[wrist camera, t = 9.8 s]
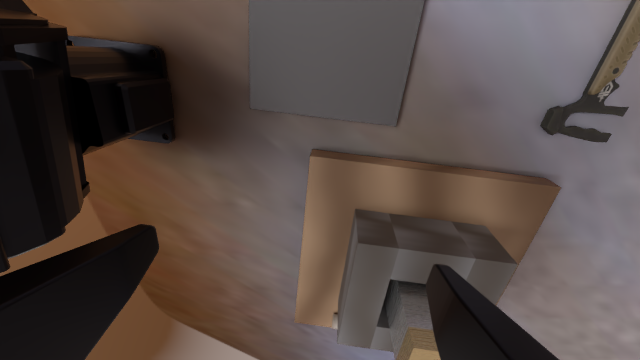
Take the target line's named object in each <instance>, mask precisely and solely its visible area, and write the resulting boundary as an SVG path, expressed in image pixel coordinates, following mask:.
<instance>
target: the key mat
mask: <svg viewBox="0 0 640 360" xmlns="http://www.w3.org/2000/svg"><path fill="white" fill-rule="evenodd" d="M424 1H425V0H249V72H250V109H256V110H264V111H273V112H281V113H289V114H297V115H306V116H314V117H322V118H330V119H338V120H347V121H355V122H363V123H371V124H380V125H388V126H396V123H397V119H398V114H399V110H400V106H401V101H402V97H403V93H404V88H405V84H406V79H407V75H408V71H409V66H410V62H411V58H412V53H413V49H414V44H415V40H416V36H417V31H418V27H419V23H420V18H421V14H422V9H423V5H424Z"/></svg>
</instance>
